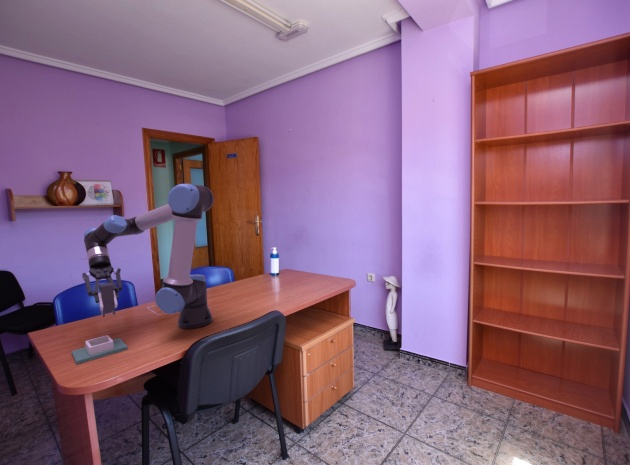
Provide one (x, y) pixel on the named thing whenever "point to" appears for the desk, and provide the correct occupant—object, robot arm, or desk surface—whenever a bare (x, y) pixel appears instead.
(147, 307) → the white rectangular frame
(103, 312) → the block
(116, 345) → the board
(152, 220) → the robot arm
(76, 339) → the desk surface
